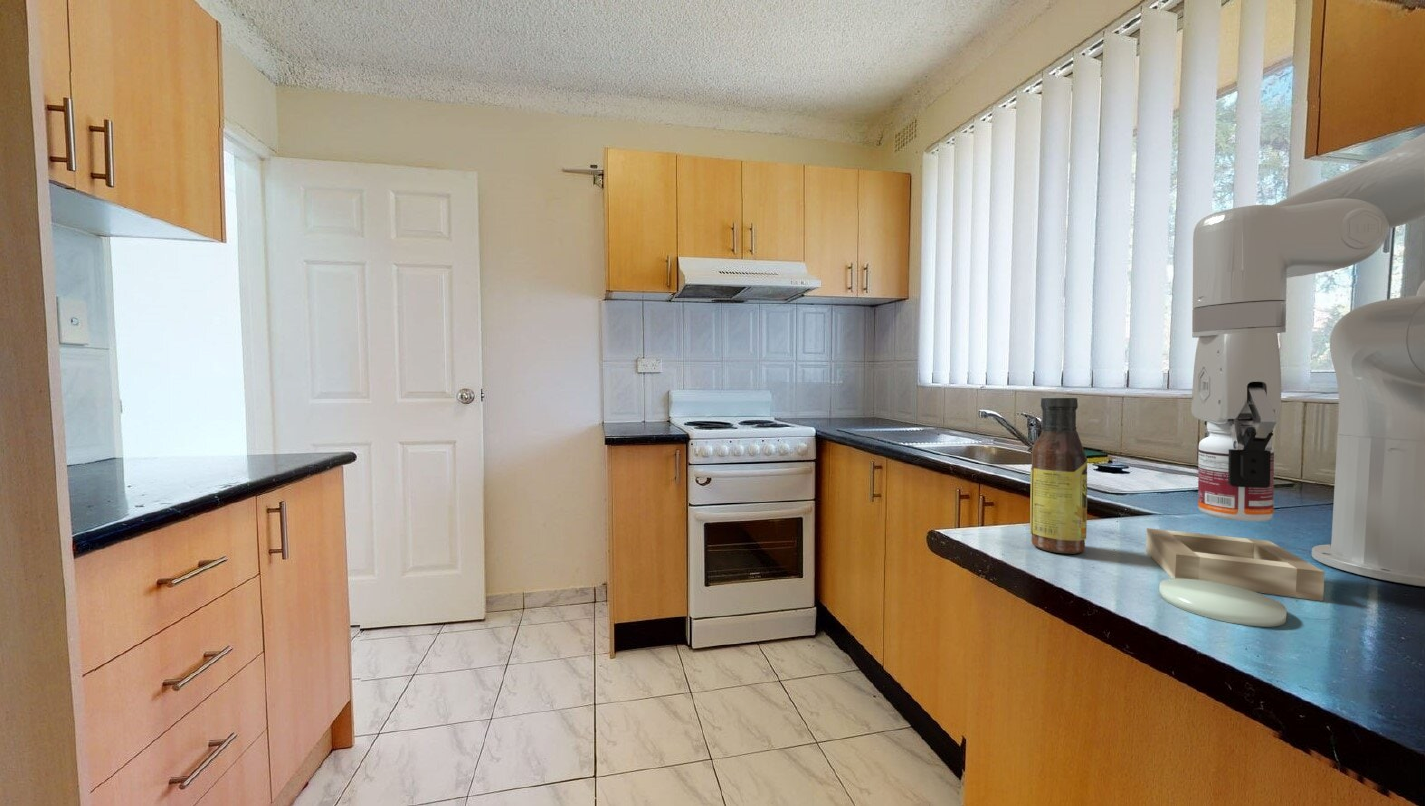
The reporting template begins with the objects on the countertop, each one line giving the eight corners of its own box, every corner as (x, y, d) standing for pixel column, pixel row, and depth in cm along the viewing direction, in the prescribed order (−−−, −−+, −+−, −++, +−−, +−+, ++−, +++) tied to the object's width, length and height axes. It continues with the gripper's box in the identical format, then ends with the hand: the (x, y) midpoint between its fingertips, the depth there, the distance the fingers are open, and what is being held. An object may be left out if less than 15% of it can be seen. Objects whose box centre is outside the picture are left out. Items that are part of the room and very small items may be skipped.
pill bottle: (1261, 512, 62) (1264, 417, 62) (1282, 525, 57) (1285, 422, 56) (1191, 506, 66) (1192, 416, 65) (1205, 519, 60) (1207, 421, 60)
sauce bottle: (1095, 557, 67) (1101, 398, 66) (1040, 554, 68) (1045, 397, 67) (1071, 542, 73) (1076, 396, 72) (1021, 539, 74) (1025, 395, 73)
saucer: (1259, 597, 55) (1260, 587, 54) (1307, 634, 46) (1308, 623, 46) (1148, 582, 59) (1148, 573, 59) (1175, 614, 51) (1175, 603, 50)
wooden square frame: (1267, 565, 64) (1268, 540, 64) (1323, 601, 54) (1324, 571, 54) (1145, 551, 69) (1146, 528, 69) (1174, 581, 59) (1176, 554, 59)
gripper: (1170, 329, 70) (1169, 467, 70) (1224, 318, 54) (1222, 494, 55) (1247, 325, 66) (1245, 469, 67) (1328, 312, 51) (1324, 499, 52)
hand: (1235, 479), depth 61 cm, fingers closed on pill bottle, 6 cm apart
